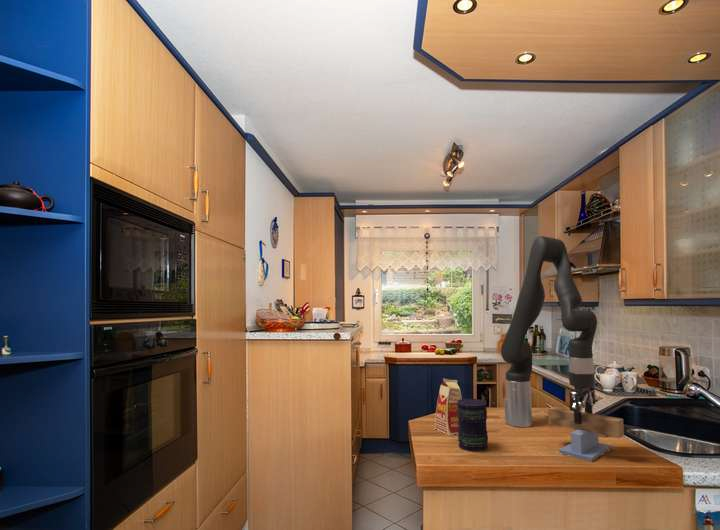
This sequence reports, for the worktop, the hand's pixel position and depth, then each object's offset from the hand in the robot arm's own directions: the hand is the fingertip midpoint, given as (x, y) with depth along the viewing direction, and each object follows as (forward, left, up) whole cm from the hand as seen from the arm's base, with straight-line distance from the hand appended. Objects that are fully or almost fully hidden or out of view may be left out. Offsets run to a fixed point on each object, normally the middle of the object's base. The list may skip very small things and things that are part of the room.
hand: (583, 421), depth 146 cm
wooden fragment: (-10, +27, -10) cm, 31 cm away
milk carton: (-44, -13, -10) cm, 47 cm away
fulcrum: (0, 0, -10) cm, 10 cm away
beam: (0, 0, -3) cm, 3 cm away
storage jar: (-28, -22, -10) cm, 37 cm away
